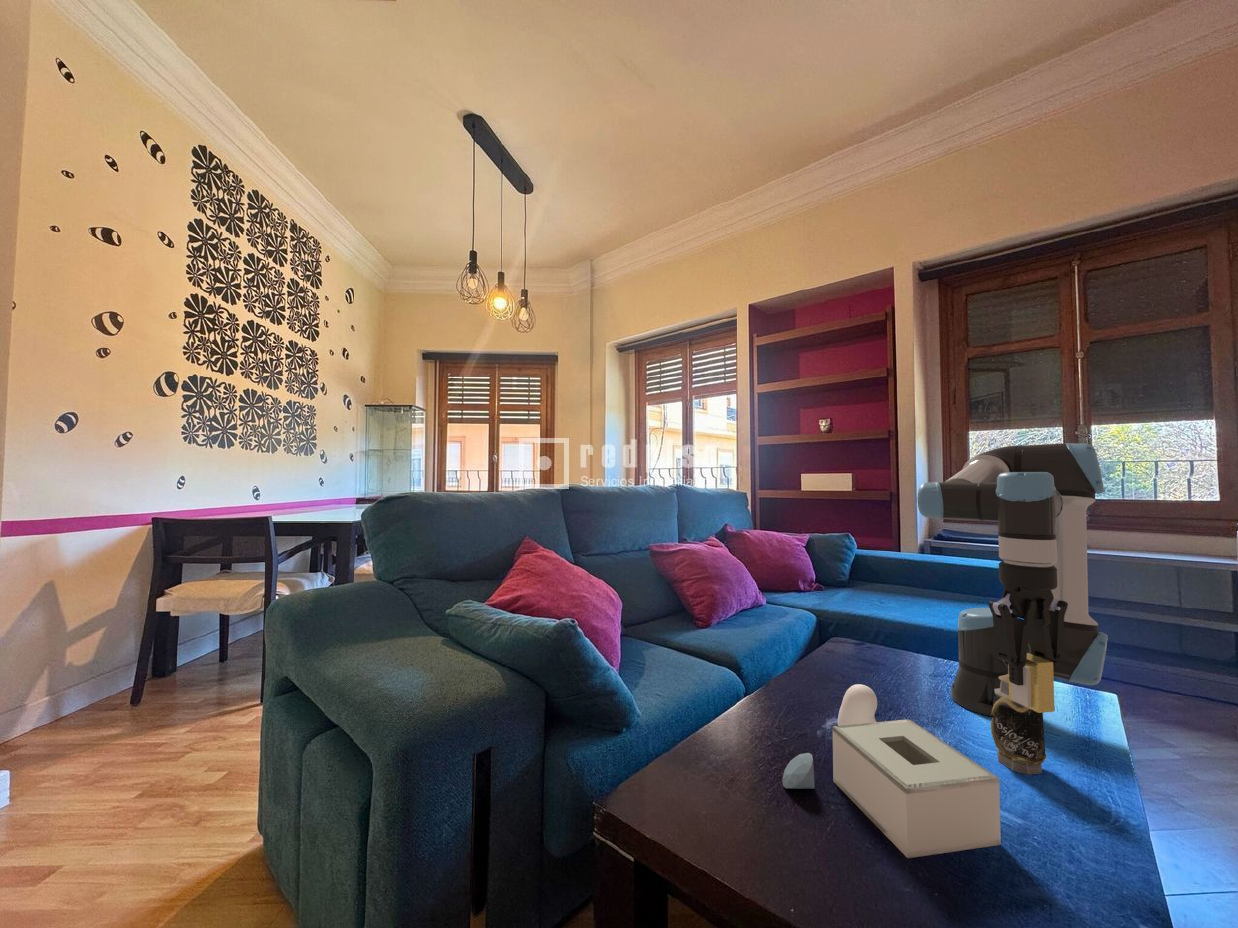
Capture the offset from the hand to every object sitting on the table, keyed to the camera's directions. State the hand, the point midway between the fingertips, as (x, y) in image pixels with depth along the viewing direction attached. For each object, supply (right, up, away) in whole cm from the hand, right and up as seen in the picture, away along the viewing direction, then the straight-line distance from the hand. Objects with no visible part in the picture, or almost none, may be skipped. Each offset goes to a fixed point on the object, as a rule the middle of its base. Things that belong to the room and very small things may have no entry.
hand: (1030, 702), depth 80 cm
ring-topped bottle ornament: (+9, -19, +13) cm, 24 cm away
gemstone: (-37, -19, +7) cm, 42 cm away
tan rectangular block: (0, 0, 0) cm, 0 cm away
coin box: (-21, -18, 0) cm, 27 cm away
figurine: (-19, -19, +21) cm, 34 cm away
